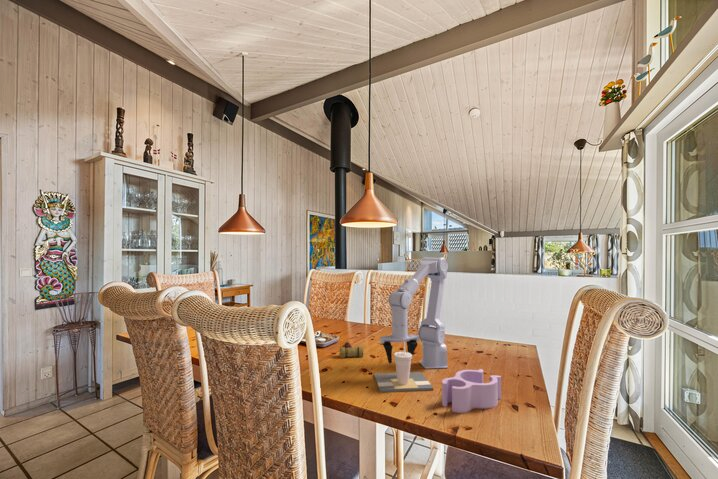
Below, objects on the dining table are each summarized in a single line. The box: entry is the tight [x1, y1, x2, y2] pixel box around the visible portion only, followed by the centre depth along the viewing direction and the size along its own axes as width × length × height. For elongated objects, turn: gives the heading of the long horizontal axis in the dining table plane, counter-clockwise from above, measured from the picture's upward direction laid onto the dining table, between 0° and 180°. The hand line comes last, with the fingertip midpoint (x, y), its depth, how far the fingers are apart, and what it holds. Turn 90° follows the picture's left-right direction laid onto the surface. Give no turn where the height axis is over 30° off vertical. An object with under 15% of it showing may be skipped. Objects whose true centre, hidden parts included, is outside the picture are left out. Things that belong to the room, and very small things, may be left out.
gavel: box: [339, 341, 364, 359], centre depth 148 cm, size 21×5×10 cm
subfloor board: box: [373, 371, 434, 393], centre depth 112 cm, size 18×14×1 cm
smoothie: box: [393, 341, 413, 385], centre depth 110 cm, size 6×6×14 cm
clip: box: [441, 368, 502, 414], centre depth 99 cm, size 20×12×7 cm, turn 121°
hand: (399, 361), depth 116 cm, fingers open, 7 cm apart
